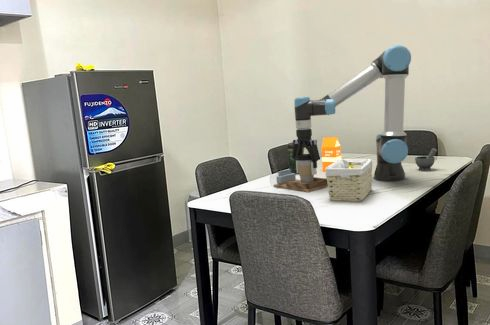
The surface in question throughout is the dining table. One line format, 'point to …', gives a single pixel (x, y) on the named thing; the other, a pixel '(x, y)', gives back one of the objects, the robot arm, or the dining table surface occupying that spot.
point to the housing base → (304, 185)
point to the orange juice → (330, 151)
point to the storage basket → (349, 179)
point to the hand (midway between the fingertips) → (306, 173)
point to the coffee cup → (305, 168)
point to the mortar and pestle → (426, 161)
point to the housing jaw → (285, 176)
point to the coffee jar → (292, 161)
